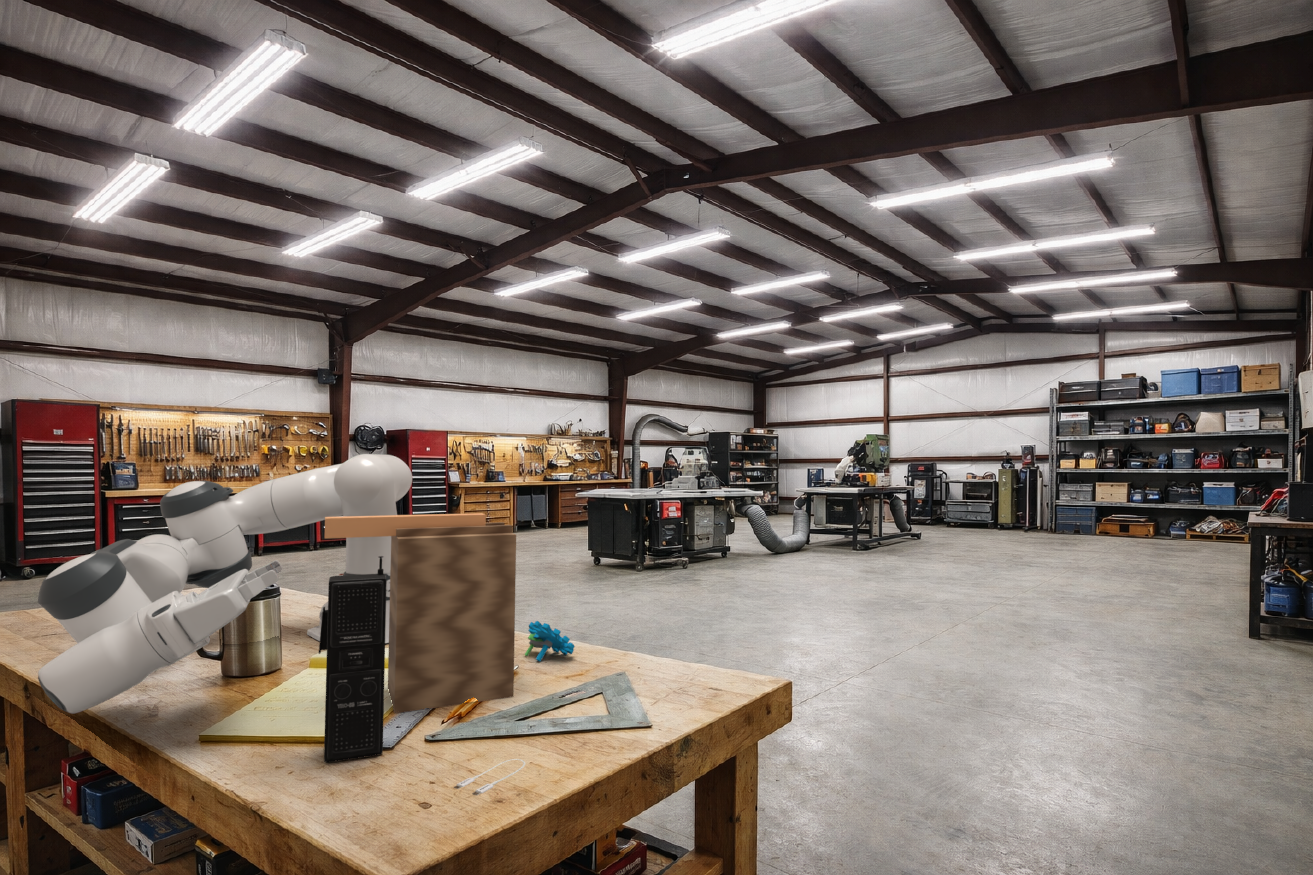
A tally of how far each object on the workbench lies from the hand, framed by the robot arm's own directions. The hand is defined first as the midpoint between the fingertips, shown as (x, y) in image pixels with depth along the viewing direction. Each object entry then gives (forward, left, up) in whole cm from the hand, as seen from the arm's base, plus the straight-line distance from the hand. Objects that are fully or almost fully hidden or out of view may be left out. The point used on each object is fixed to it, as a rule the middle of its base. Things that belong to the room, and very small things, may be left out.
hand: (278, 569), depth 102 cm
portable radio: (+20, -1, -22) cm, 30 cm away
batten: (+9, +16, +4) cm, 19 cm away
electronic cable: (+40, +6, -22) cm, 46 cm away
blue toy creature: (+11, +46, -22) cm, 53 cm away
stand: (+12, +22, -22) cm, 33 cm away
